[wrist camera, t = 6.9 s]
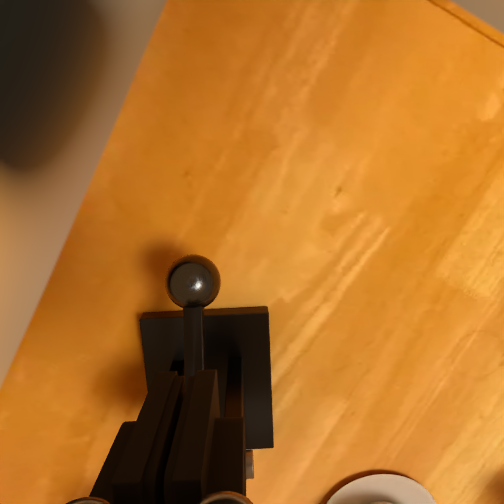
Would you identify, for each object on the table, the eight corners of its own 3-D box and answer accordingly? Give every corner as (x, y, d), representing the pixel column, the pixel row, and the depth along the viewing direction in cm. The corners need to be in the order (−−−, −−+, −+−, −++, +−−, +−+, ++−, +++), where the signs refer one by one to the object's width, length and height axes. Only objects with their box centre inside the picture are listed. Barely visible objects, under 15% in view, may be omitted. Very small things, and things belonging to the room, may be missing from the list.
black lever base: (143, 312, 29) (87, 400, 19) (267, 306, 29) (281, 390, 19) (158, 443, 32) (116, 585, 21) (272, 437, 32) (287, 575, 22)
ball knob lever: (170, 260, 25) (159, 251, 22) (221, 257, 25) (217, 248, 22) (174, 484, 23) (162, 510, 20) (230, 481, 23) (226, 506, 20)
